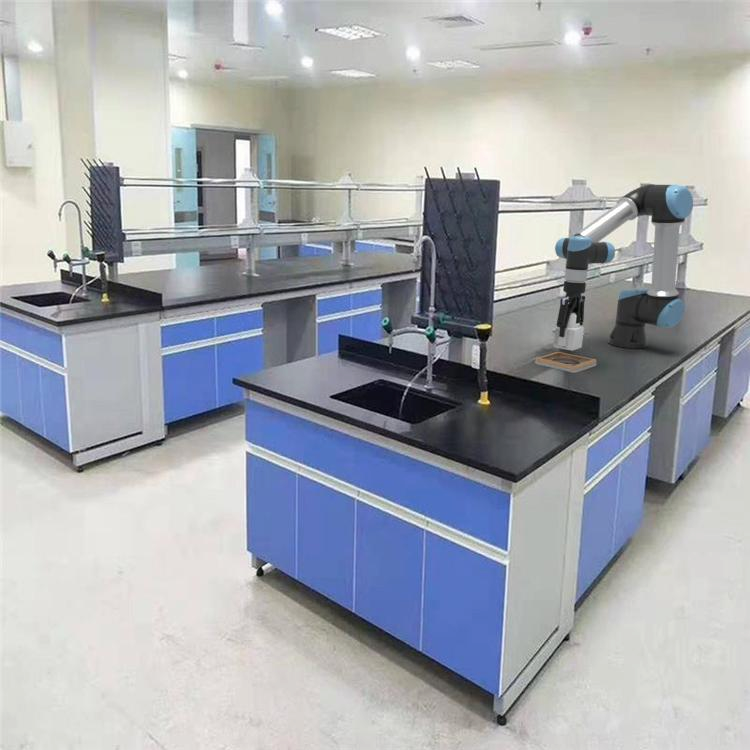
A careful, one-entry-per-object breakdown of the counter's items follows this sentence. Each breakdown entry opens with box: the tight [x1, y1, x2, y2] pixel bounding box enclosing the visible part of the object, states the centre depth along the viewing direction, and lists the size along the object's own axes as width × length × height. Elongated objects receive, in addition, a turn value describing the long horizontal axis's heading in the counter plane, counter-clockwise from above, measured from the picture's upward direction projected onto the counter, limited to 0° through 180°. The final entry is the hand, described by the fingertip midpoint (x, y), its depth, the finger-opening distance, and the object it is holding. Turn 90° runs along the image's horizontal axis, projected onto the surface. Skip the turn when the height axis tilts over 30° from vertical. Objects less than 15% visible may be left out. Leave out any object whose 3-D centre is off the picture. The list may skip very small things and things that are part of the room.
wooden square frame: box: [534, 351, 597, 374], centre depth 255 cm, size 16×16×2 cm
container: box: [553, 311, 585, 351], centre depth 252 cm, size 8×8×13 cm
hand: (567, 343), depth 253 cm, fingers closed on container, 8 cm apart
